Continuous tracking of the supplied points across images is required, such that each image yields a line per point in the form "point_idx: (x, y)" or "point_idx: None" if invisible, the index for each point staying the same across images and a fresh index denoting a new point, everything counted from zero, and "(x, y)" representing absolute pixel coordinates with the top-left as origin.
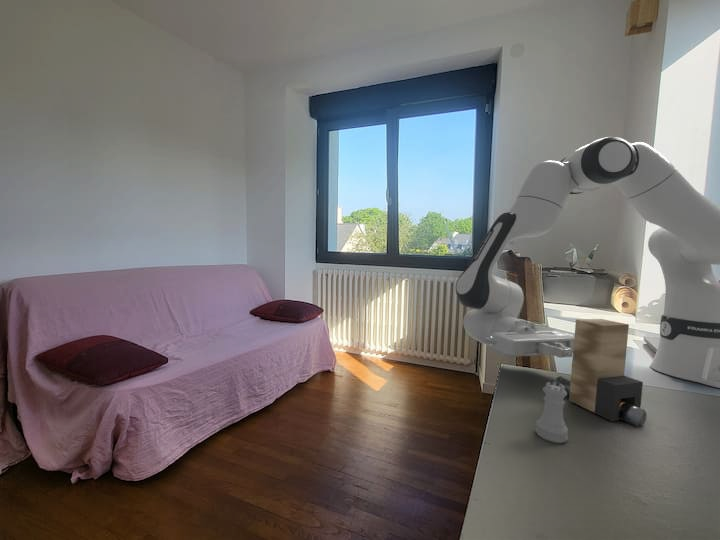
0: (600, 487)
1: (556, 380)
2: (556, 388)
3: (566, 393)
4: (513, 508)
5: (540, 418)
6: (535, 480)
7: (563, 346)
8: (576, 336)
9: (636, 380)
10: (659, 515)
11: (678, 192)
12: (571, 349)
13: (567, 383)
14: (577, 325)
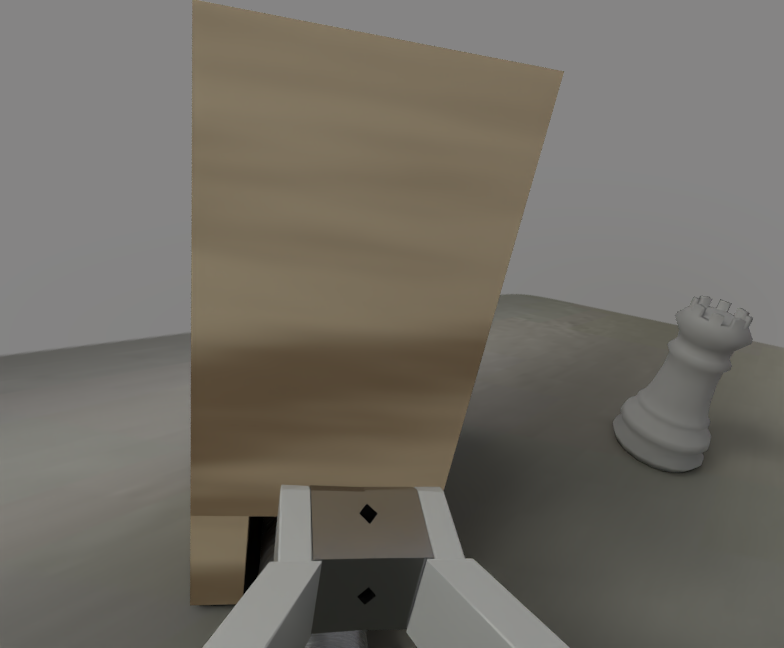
0: (622, 348)
1: None
2: (724, 302)
3: (682, 309)
4: (780, 362)
5: (709, 419)
6: (736, 379)
7: (301, 563)
8: (512, 222)
9: None
10: (567, 313)
11: None
12: (288, 486)
13: (357, 630)
14: (539, 124)
